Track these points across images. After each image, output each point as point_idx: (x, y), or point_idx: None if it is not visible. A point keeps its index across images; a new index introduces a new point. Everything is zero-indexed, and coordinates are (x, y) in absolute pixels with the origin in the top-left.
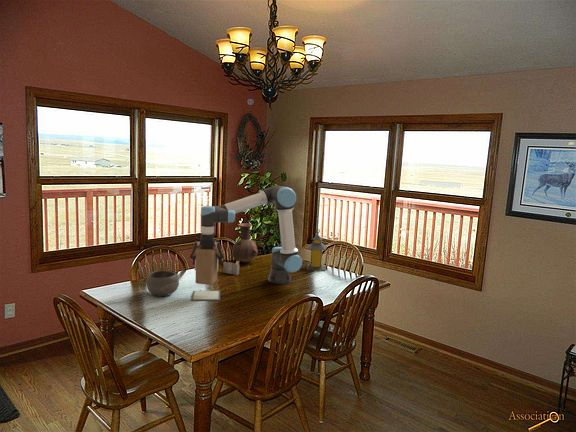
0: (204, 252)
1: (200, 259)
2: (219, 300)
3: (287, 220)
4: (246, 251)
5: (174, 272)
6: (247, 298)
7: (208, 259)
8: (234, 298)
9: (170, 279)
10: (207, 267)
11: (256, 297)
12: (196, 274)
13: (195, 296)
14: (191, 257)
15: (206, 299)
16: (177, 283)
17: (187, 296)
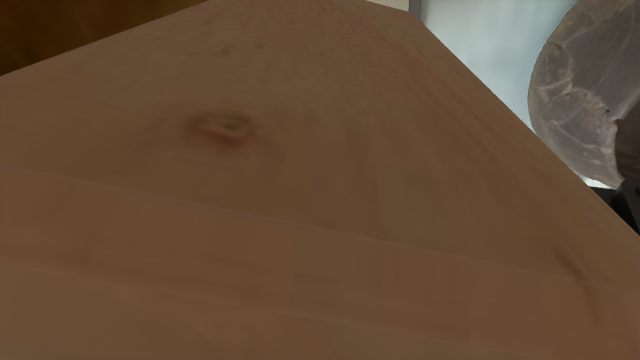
0: (285, 209)
1: (421, 91)
2: None
3: None
4: None
5: (615, 159)
6: (84, 26)
7: (191, 41)
8: (154, 17)
9: None
10: (269, 10)
11: (49, 51)
12: (427, 29)
13: (397, 5)
14: (634, 190)
15: None
16: (567, 50)
17: (448, 25)
